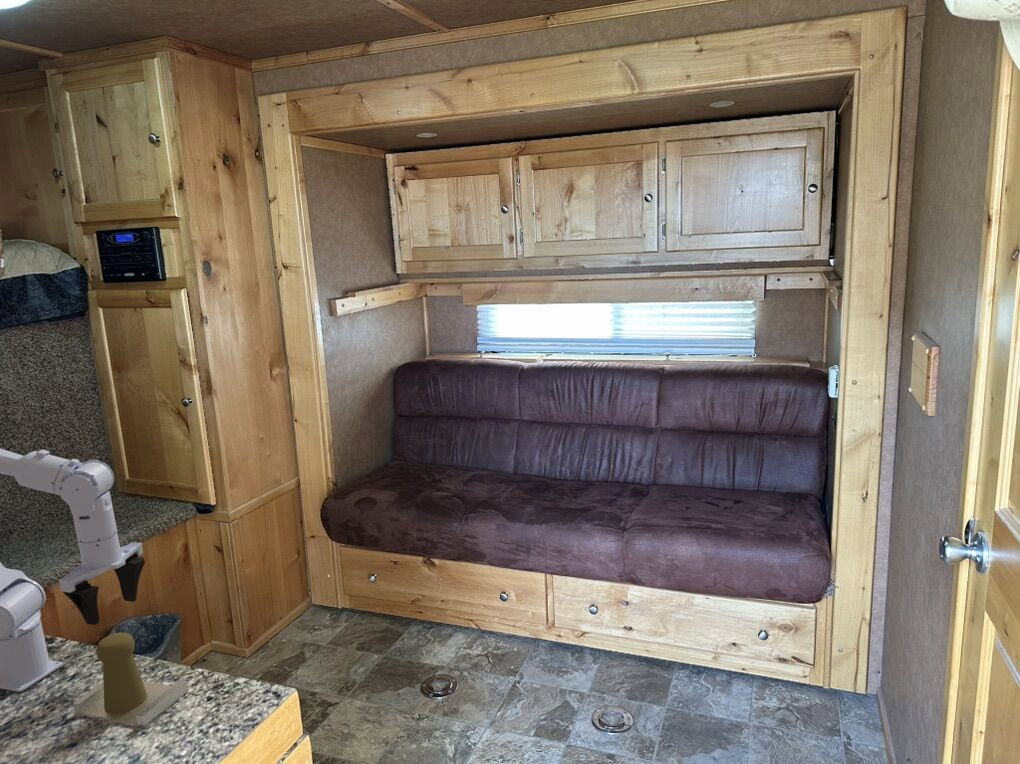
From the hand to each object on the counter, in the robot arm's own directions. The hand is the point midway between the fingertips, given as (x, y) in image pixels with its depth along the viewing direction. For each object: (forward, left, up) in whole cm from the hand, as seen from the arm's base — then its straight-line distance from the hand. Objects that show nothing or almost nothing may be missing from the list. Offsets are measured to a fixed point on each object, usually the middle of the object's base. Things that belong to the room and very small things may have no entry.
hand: (112, 611), depth 121 cm
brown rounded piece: (+9, -8, -10) cm, 16 cm away
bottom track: (+10, -8, -10) cm, 16 cm away
